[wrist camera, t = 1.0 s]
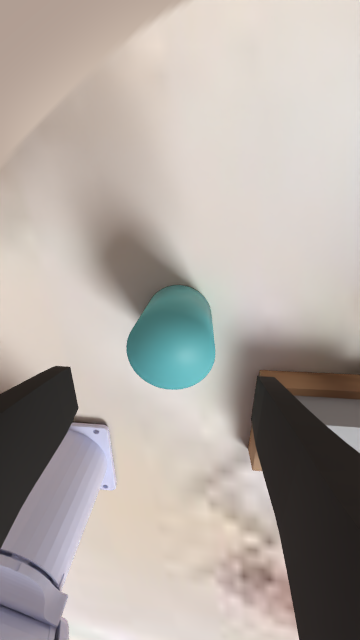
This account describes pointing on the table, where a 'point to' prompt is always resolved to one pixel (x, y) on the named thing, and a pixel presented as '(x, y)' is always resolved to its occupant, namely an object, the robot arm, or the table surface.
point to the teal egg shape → (173, 339)
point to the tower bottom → (309, 392)
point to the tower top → (337, 416)
